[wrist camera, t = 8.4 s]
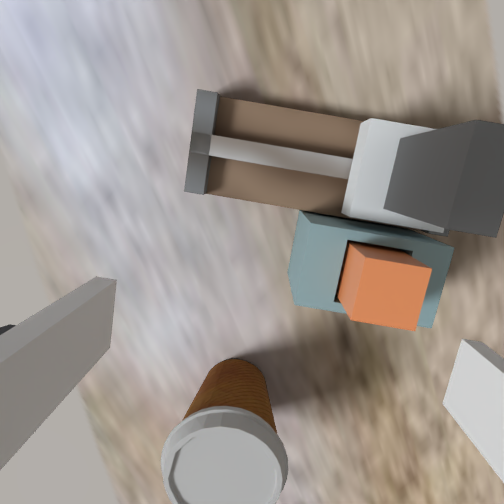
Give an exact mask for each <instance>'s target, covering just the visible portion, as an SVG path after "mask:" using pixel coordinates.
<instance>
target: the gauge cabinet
mask: <svg viewBox="0 0 504 504" xmlns="http://www.w3.org/2000/svg"><path fill="white" fill-rule="evenodd" d="M347 240H353V241H358V242H364V243H370V244H376V245H382V246H387V247H393V248H398V249H400V250H401V251H403V252H405V253H406V254H408V255H410V256H411V257H413V258H415V259H417V260H418V261H420V262H422V263H423V264H425V265H427V266H428V267H430V268H432V272H431V275H430V279H429V283H428V286H427V290H426V293H425V297H424V301H423V304H422V308H421V312H420V315H419V319H418V322H417V326H421V327H427V328H432V325H433V322H434V318H435V315H436V311H437V308H438V304H439V300H440V297H441V293H442V290H443V286H444V283H445V279H446V276H447V272H448V269H449V265H450V262H451V258H452V255H453V251H454V247H452V246H449V245H447V244H444V243H442V242H439V241H437V240H434V239H432V238H429V237H427V236H425V235H422V234H420V233H417V232H415V231H412V230H410V229H407V228H402V227H396V226H390V225H384V224H378V223H372V222H367V221H361V220H355V219H349V218H343V217H337V216H332V215H326V214H320V213H314V212H308V211H302V210H300V211H299V216H298V221H297V227H296V232H295V237H294V242H293V247H292V252H291V258H290V263H289V268H288V277H289V281H290V286H291V291H292V295H293V300H294V305H299V306H304V307H310V308H316V309H322V310H328V311H334V312H339V313H345V314H347V313H346V311H345V309H344V307H343V306H342V304H341V302H340V300H339V299H338V297H337V295H336V289H337V285H338V280H339V276H340V271H341V267H342V262H343V258H344V253H345V249H346V244H347Z"/></svg>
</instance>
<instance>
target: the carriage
mask: <svg viewBox="0 0 504 504" xmlns="http://www.w3.org/2000/svg"><path fill="white" fill-rule="evenodd" d="M341 213H343V214H345V215H347V216H348V217H353V218H359V219H364V220H370V221H376V222H382V223H388V224H393V225H399V226H405V227H411V228H417V229H423V230H428V231H434V232H440V233H443V232H444V229H449V230H455V231H460V232H466V233H472V234H478V235H484V236H490V237H495V238H496V237H497V233H498V230H499V227H500V224H501V220H502V217H503V214H504V124H498V123H493V122H487V121H481V120H474V121H469V122H465V123H461V124H457V125H453V126H449V127H445V128H441V129H433V128H427V127H421V126H415V125H409V124H403V123H398V122H392V121H386V120H380V119H374V118H370V119H368V120H366V121H364V122H362V123H361V124H360V129H359V133H358V138H357V142H356V147H355V152H354V156H353V161H352V165H351V170H350V175H349V179H348V184H347V188H346V193H345V198H344V202H343V207H342V211H341Z"/></svg>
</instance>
